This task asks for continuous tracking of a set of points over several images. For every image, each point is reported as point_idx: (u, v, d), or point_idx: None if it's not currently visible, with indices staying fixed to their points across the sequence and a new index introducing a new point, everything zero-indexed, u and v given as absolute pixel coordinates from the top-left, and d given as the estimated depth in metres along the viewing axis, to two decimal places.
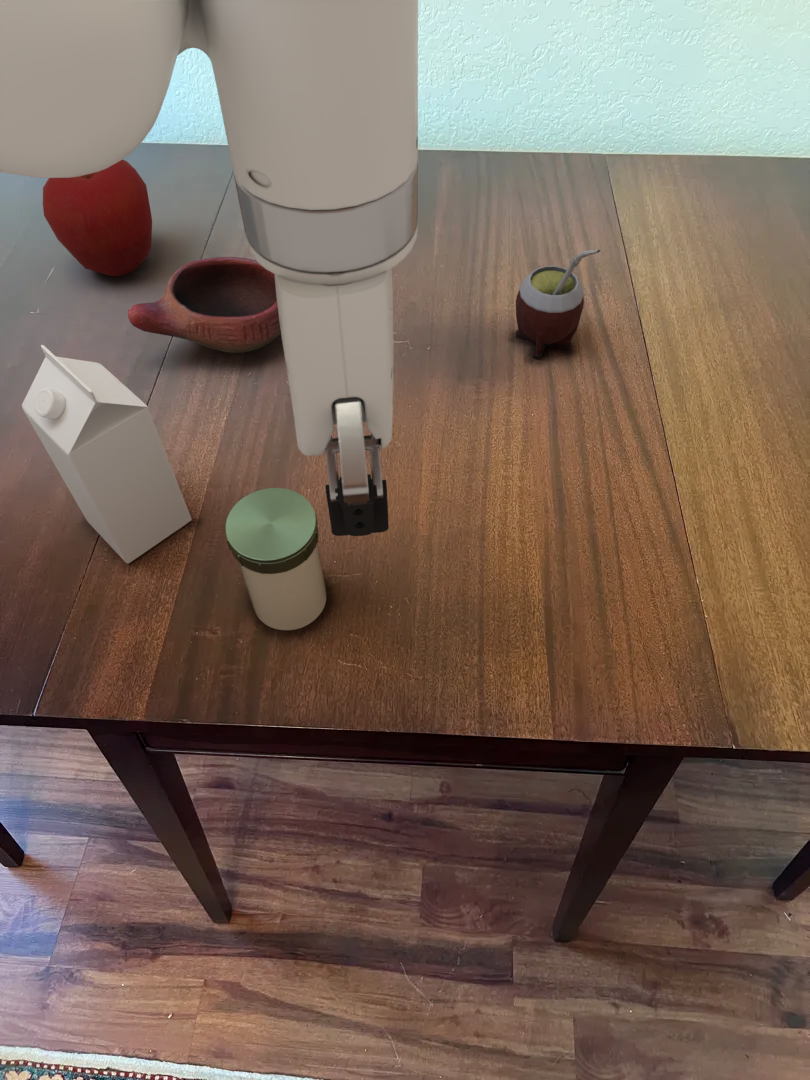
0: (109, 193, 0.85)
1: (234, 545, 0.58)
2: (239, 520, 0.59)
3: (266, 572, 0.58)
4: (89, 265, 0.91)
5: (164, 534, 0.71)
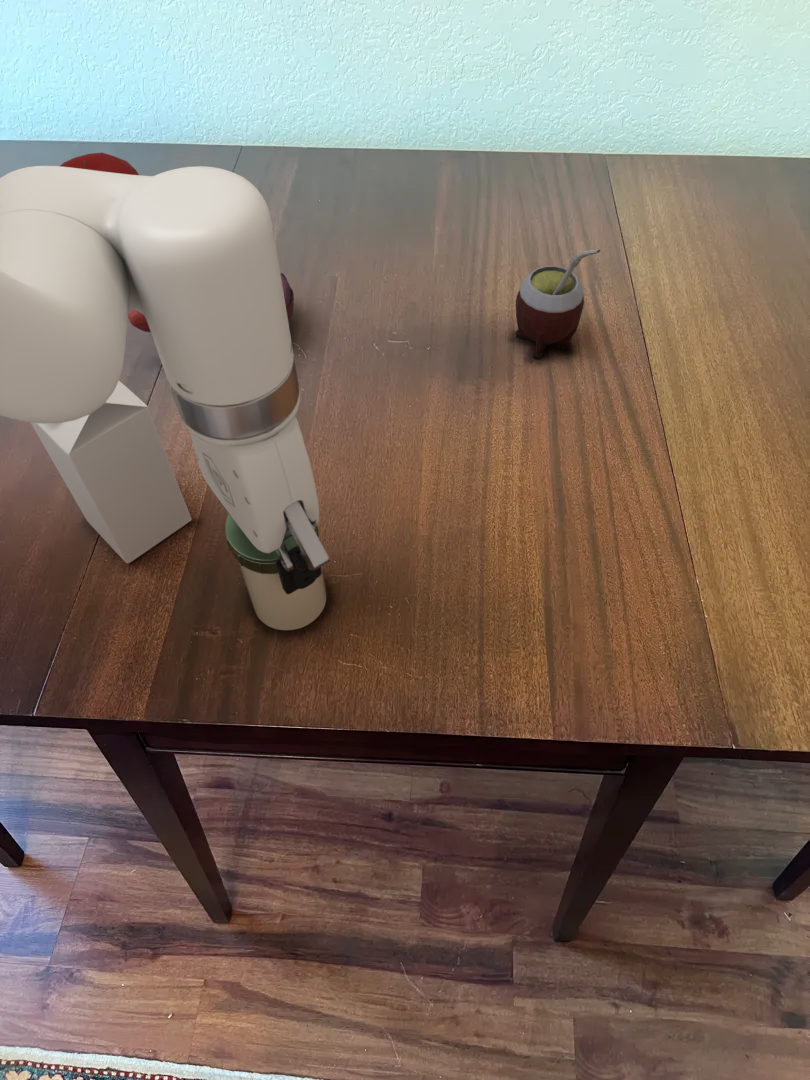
0: None
1: (234, 545, 0.58)
2: None
3: (266, 572, 0.58)
4: None
5: (164, 534, 0.71)
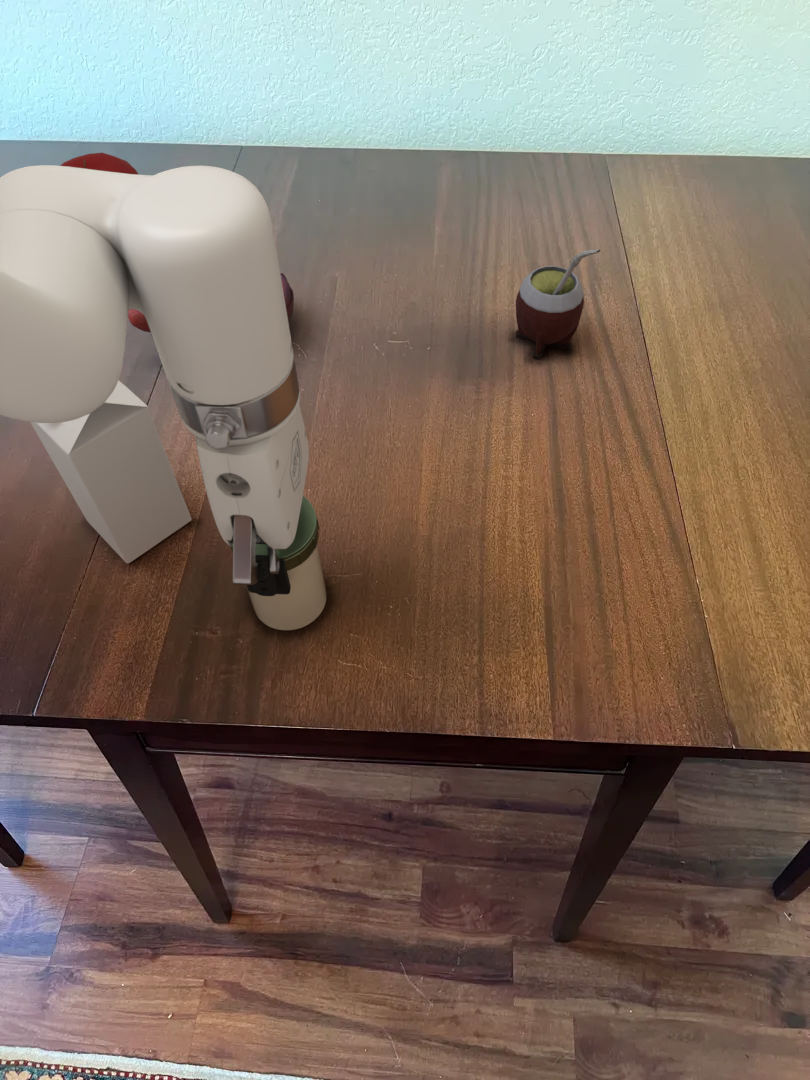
0: None
1: (313, 521, 0.59)
2: None
3: None
4: None
5: (164, 534, 0.71)
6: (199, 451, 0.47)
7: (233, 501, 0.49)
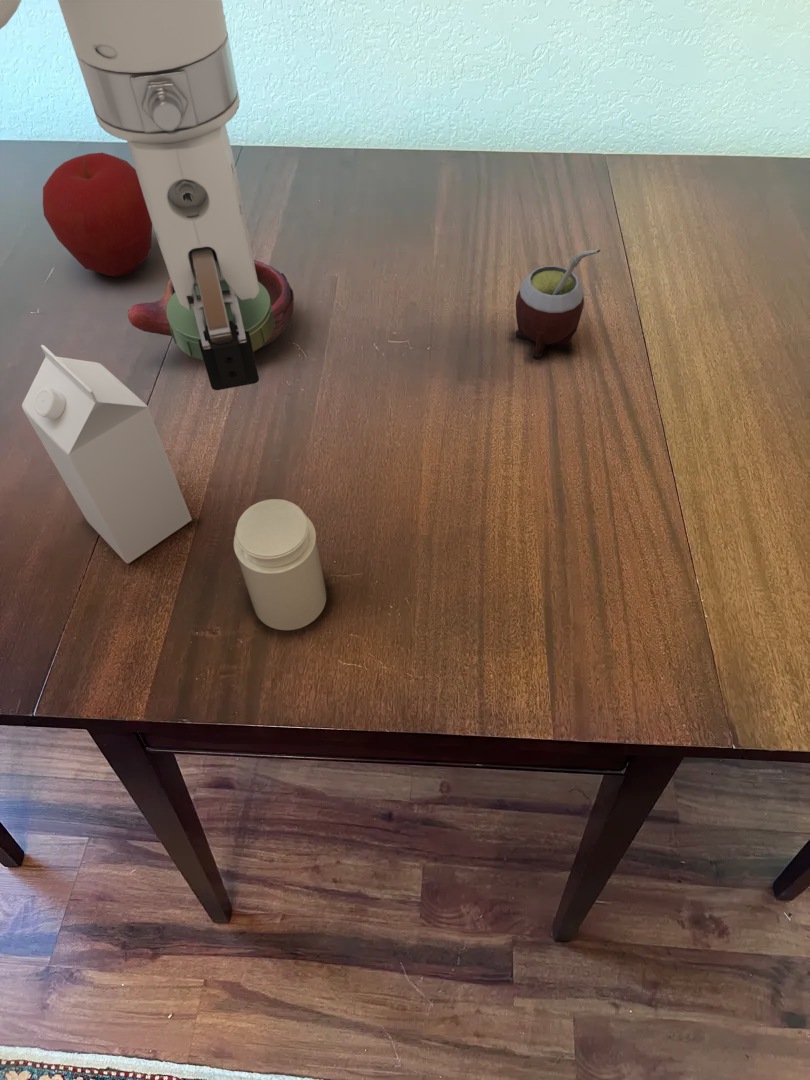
0: (109, 193, 0.85)
1: (266, 294, 0.52)
2: (248, 314, 0.51)
3: None
4: (89, 265, 0.91)
5: (164, 534, 0.71)
6: (141, 157, 0.39)
7: (190, 226, 0.42)
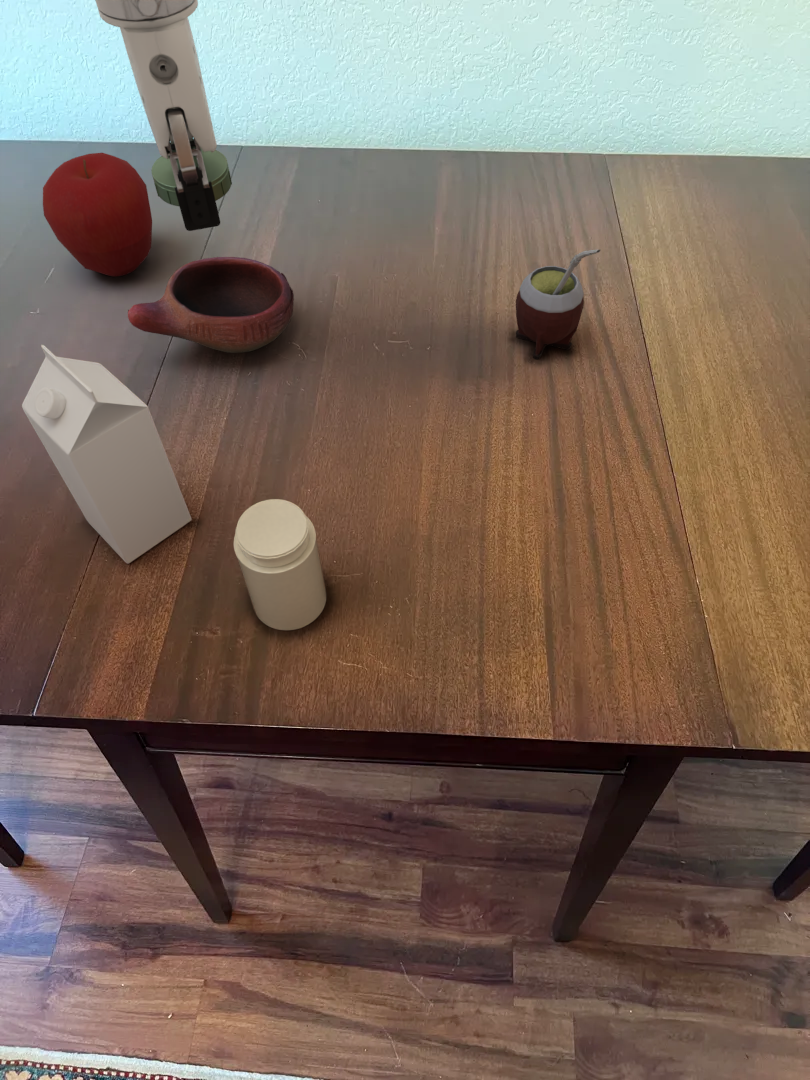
0: (109, 193, 0.85)
1: (224, 158, 0.71)
2: (211, 172, 0.70)
3: None
4: (89, 265, 0.91)
5: (164, 534, 0.71)
6: (130, 38, 0.58)
7: (165, 90, 0.61)
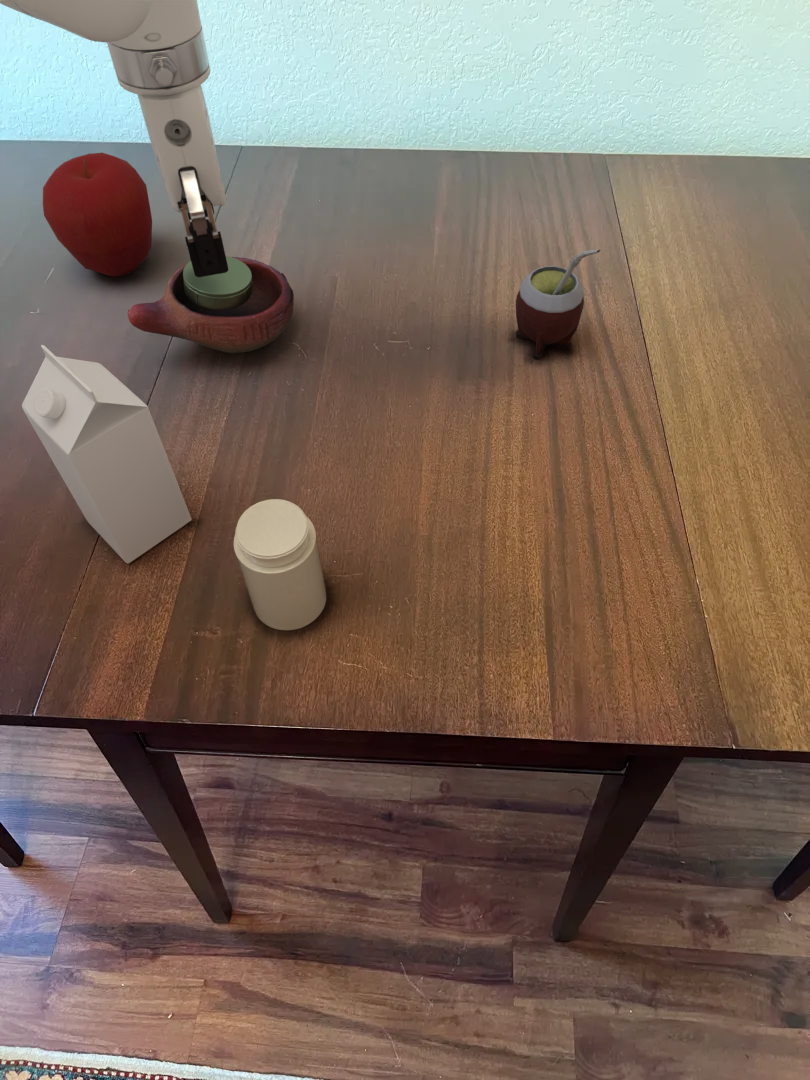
0: (109, 193, 0.85)
1: (249, 271, 0.81)
2: (237, 282, 0.80)
3: None
4: (89, 265, 0.91)
5: (164, 534, 0.71)
6: (147, 104, 0.62)
7: (179, 151, 0.64)
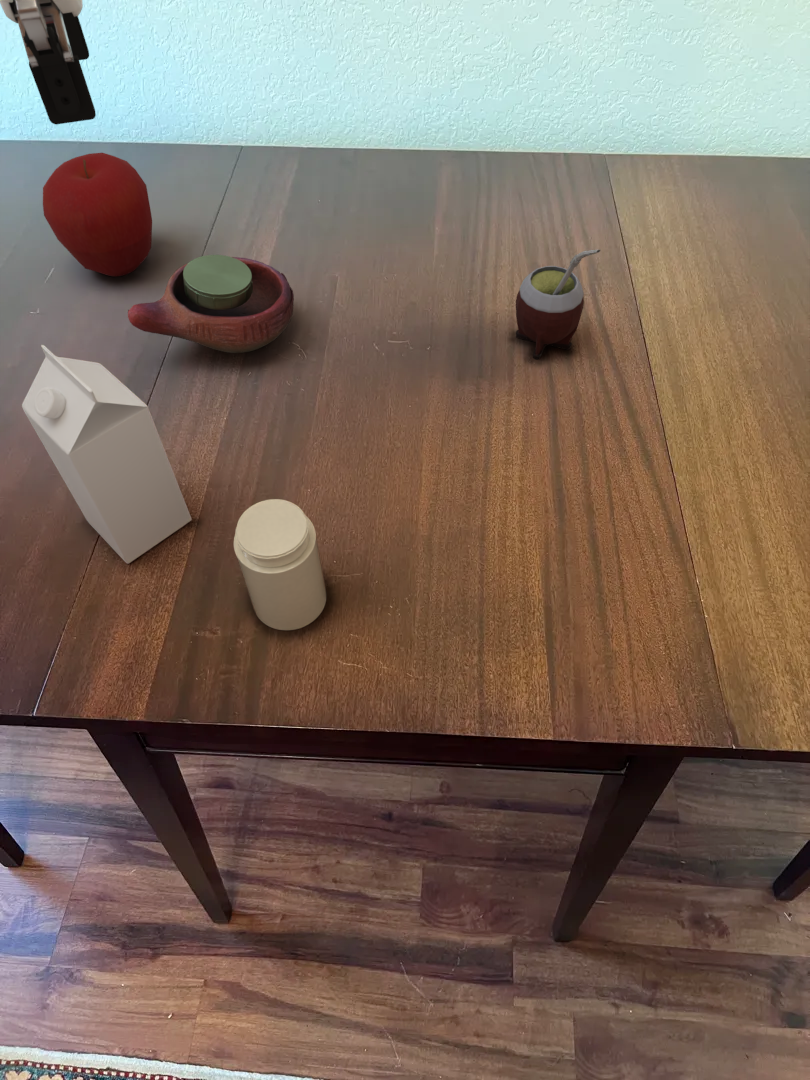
0: (109, 193, 0.85)
1: (249, 271, 0.81)
2: (237, 282, 0.80)
3: None
4: (89, 265, 0.91)
5: (164, 534, 0.71)
6: None
7: None
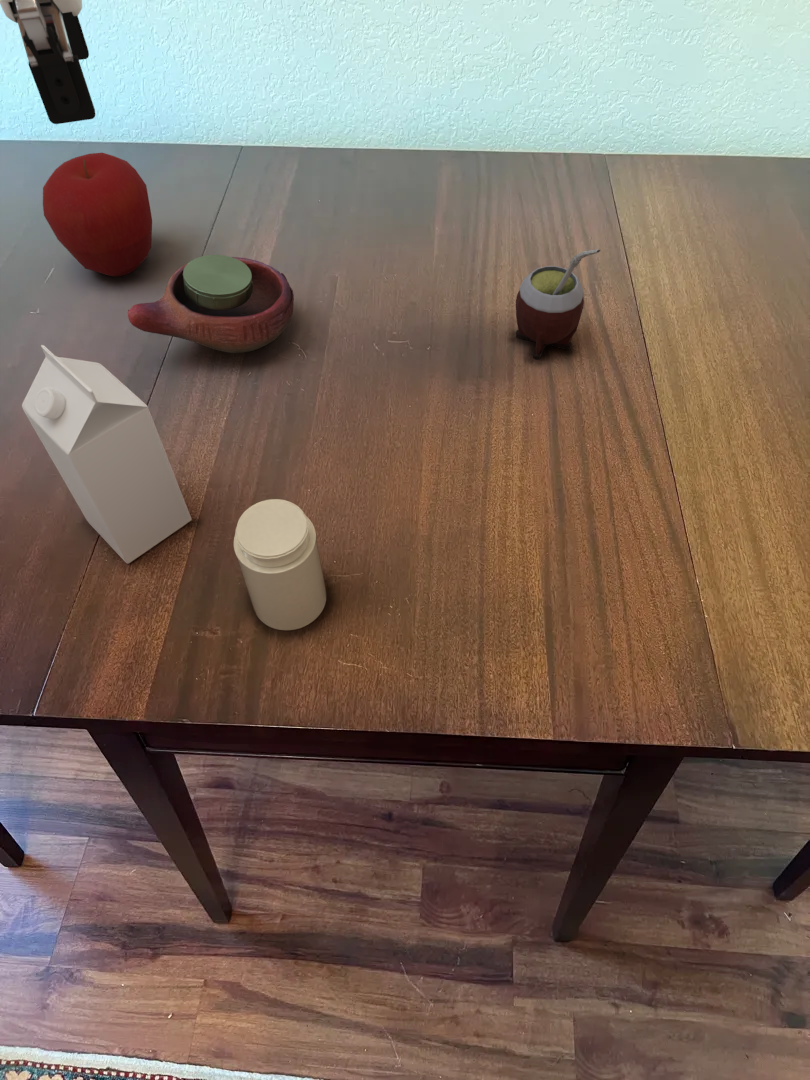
0: (109, 193, 0.85)
1: (249, 271, 0.81)
2: (237, 282, 0.80)
3: None
4: (89, 265, 0.91)
5: (164, 534, 0.71)
6: None
7: None
